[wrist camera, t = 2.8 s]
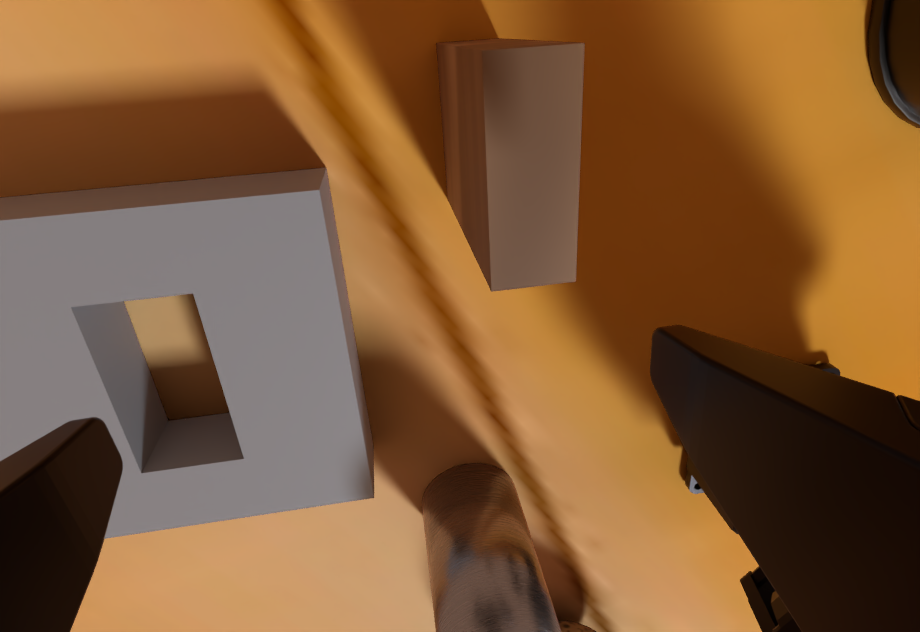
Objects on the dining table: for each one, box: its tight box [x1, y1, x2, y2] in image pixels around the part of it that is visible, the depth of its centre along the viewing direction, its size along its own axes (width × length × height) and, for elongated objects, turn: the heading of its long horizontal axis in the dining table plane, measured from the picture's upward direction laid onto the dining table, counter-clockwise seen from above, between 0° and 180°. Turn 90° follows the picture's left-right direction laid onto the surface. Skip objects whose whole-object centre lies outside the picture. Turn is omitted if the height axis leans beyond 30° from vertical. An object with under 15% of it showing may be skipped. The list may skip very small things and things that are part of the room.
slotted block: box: [0, 168, 374, 539], centre depth 20 cm, size 12×12×3 cm
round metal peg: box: [422, 463, 561, 632], centre depth 23 cm, size 4×4×8 cm
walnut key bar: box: [436, 38, 585, 292], centre depth 15 cm, size 2×5×8 cm, turn 3°
